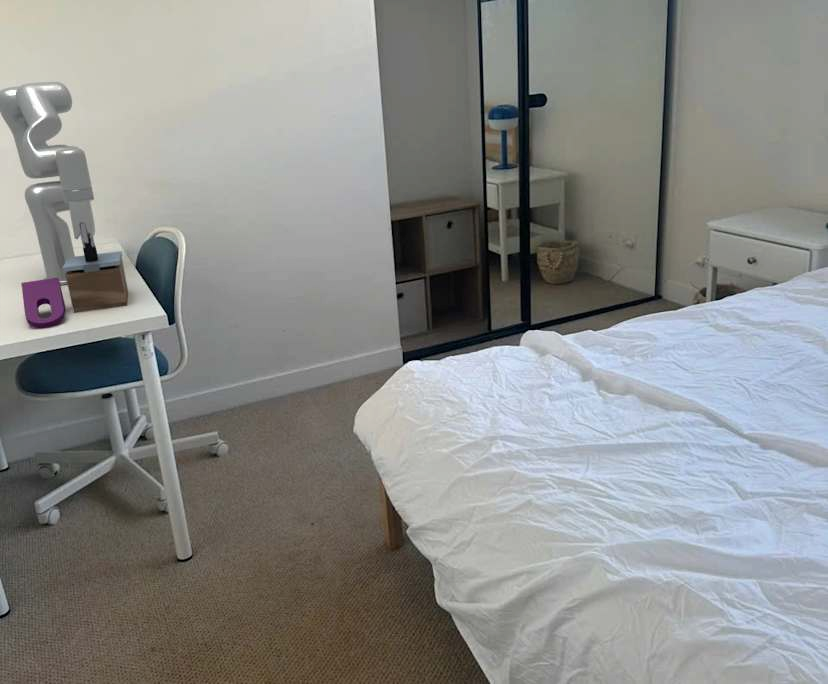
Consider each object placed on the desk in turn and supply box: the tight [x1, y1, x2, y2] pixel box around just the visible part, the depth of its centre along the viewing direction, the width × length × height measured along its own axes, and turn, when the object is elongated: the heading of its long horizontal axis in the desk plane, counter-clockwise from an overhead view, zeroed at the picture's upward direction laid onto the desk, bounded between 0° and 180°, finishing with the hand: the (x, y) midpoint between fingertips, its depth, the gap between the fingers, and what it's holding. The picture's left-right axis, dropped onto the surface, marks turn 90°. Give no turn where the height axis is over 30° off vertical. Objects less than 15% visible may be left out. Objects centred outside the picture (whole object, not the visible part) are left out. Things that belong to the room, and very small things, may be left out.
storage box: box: [66, 258, 129, 314], centre depth 214 cm, size 16×14×11 cm
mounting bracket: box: [20, 278, 67, 329], centre depth 203 cm, size 10×8×18 cm
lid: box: [62, 250, 123, 273], centre depth 211 cm, size 17×15×2 cm
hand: (92, 260), depth 208 cm, fingers closed
